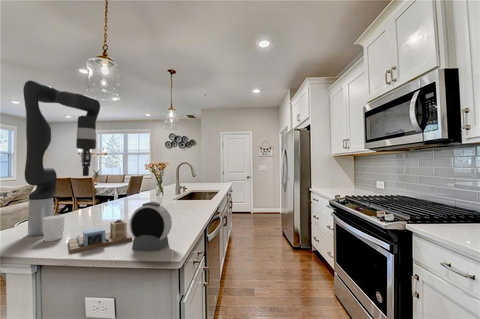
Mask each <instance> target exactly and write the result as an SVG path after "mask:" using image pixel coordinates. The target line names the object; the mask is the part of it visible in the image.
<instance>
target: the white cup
mask: <svg viewBox="0 0 480 319" xmlns="http://www.w3.org/2000/svg"><path fill="white" fill-rule="evenodd" d="M65 216H66V215H64V214H61V215H60V214H59V215H57V214H56V215H53V216H49V217H44V218H43V235H42V236H43V241H44V242H53V241H58V240H62V239H63V238H64V231H65V219H66V218H65Z"/></svg>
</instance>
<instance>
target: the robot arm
mask: <svg viewBox="0 0 480 319" xmlns="http://www.w3.org/2000/svg"><path fill="white" fill-rule="evenodd" d="M22 92H23V100H24V106H25V119H26V123H25V124H26V126H25V135H26V136H25V137H26V138H25V139H26V157H25V158H26V159H25V166H24V180H25V182H26V183H27V184H28V185H29V186H32V187H33V186H35V187H36V188H35V189H34V191H32V192H30V193H29V194H28V209H27V210H28V212H27V213H28V214H27V215H28V216H27V218H28V219H27V236H29V237H37V236H38V237H39V236H44V235H43V218H44V217H49V216H54V195H55V194H56V189H57V188H56V187H57V172H56V170H55V169H54V168H53V167H51V166H44V156H45V153H46V151H47V150H48V149H49V146H50V145H51V142H52V127H51V126H50V123H49V122H48V121H47V118H46V117H45V116H44V115H43V113H42V111H41V109H40V103H46V104H59V105H61V106H64V107H68V108H73V109H76V110H80V111H84V112H86V114H85V115H78V117H77V130H76V143H75V144H76V146H75V147H76V149H78V150H82V152H80V158H81V160H80V163H81V166H82V167H81V168H82V176H83V177H88V176H89V175H90V167H91V162H92V157H93V156H92V155H93V154H92V152H91V150H96V149H97V130H96V126H97V125H96V124H97V123H96V122H97V118H98V116H99V113H100V110H101V104H100V101H99V100H98V99H97V98H94V97H91V96H89V95H85V94H83V93H82V94H81V93H75V92H70V91H67V90H66V91H65V90H61V91H60V90H58V89H56V88H54V87H52V86H50V85H49V84H45V83H41V82H39V81H34V80H27V81H25V83H24V85H23V91H22Z"/></svg>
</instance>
